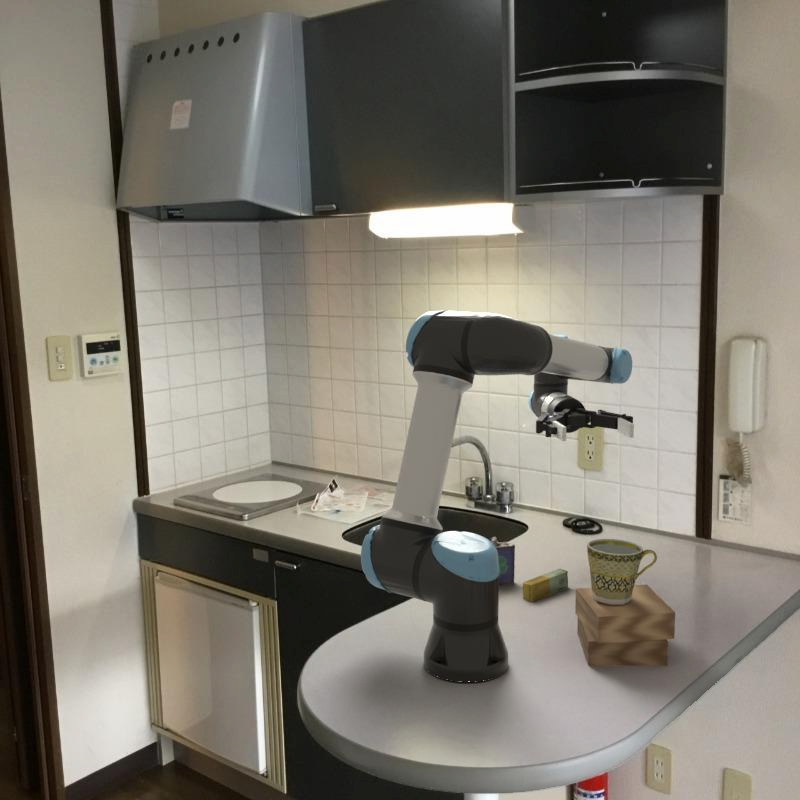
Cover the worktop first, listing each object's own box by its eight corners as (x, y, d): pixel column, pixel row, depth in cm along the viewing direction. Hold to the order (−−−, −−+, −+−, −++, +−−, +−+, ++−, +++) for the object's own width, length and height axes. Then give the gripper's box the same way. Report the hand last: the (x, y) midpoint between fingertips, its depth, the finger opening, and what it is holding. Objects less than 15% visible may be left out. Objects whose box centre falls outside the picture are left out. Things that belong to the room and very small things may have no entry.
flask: (477, 589, 212) (477, 542, 210) (472, 585, 215) (472, 538, 213) (516, 584, 215) (516, 537, 213) (510, 579, 217) (511, 533, 216)
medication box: (559, 585, 214) (559, 567, 213) (568, 588, 212) (568, 570, 211) (522, 599, 206) (521, 581, 206) (531, 602, 204) (531, 584, 204)
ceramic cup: (592, 608, 174) (595, 554, 173) (577, 589, 184) (581, 538, 183) (662, 608, 175) (667, 555, 174) (644, 590, 185) (648, 539, 184)
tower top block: (598, 643, 173) (598, 616, 172) (575, 613, 186) (575, 588, 185) (674, 638, 174) (675, 612, 173) (646, 609, 188) (646, 584, 187)
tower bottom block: (588, 667, 174) (588, 641, 174) (577, 635, 188) (577, 611, 187) (667, 668, 174) (667, 641, 173) (650, 635, 188) (651, 611, 187)
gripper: (619, 427, 212) (658, 448, 191) (507, 432, 208) (535, 454, 187) (619, 393, 210) (660, 410, 190) (507, 397, 207) (535, 416, 186)
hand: (598, 432), depth 189 cm, fingers open, 13 cm apart
